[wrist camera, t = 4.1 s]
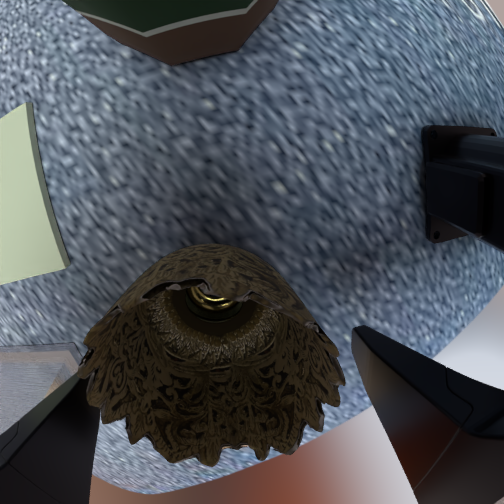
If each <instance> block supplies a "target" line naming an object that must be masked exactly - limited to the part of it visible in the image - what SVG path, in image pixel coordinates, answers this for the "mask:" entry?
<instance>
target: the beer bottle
mask: <svg viewBox="0 0 504 504" xmlns="http://www.w3.org/2000/svg"><path fill="white" fill-rule="evenodd" d="M62 1H63V2H65V3H66V4H68V5H69V6H70V7H72V8H73V9H74V10H76V11H77V12H78V13H80V14H81V15H82V16H83V17H85V18H86V19H87V20H89V21H90V22H91V23H92V24H94V25H95V26H96V27H98V28H99V29H100V30H101V31H103V32H104V33H105V34H107V35H108V36H110V37H112V38H113V39H115V40H116V41H118V42H119V43H121V44H123V45H126V46H128V47H131V48H133V49H135V50H138V51H140V52H142V53H145V54H147V55H149V56H151V57H154V58H156V59H158V60H160V61H162V62H164V63H166V64H169V65H171V66H172V65H176V64H179V63H183V62H187V61H191V60H195V59H199V58H203V57H207V56H212V55H216V54H221V53H226V52H231V51H237V50H239V49H240V47H241V46H242V45H243V44H244V42H245V41H246V40H247V39H248V37H249V36H250V35H251V34H252V33H253V31H254V30H255V29H256V28H257V27H258V26H259V24H260V23H261V22H262V21H263V20H264V19H265V17H266V16H267V15H268V14H269V13H270V12H271V11H272V10H273V9H274V7H275V6H276V4H277V2H278V0H62Z"/></svg>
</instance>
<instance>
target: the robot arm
mask: <svg viewBox="0 0 504 504" xmlns="http://www.w3.org/2000/svg"><path fill="white" fill-rule="evenodd" d="M431 131H432V133H433V137H431ZM423 142H424V153H425V167H426V190H427V228H426V236H427V239H428V240H429V241H431V242H432V243H440V242H444V241H448V240H451V239H455V238H459V237H463V236H466V235H470V236H472V237H474V238H476V239H478V240H480V241H482V242H484V243H485V244H487V245H489V246H491V247H493V248H494V249H496V250H498V251H500V252H502V253H503V254H504V138H503V137H497V134H496V132H495V130H494V129H491V128H479V127H465V126H441V125H428V126H425V127H424V129H423ZM435 232H436V234H435V236H434V233H435ZM351 349H352V354H353V357H354V359H355V362H356V365H357V368H358V370H359V373H360V376H361V379H362V382H363V385H364V387H365V390H366V392H367V394H368V397H369V399H370V401H371V403H372V405H373V407H374V408H375V410H376V413H377V415H378V417H379V419H380V421H381V423H382V425H383V427H384V429H385V431H386V433H387V435H388V437H389V440H390V442H391V444H392V446H393V448H394V450H395V452H396V454H397V457H398V459H399V461H400V463H401V465H402V468H403V470H404V472H405V474H406V476H407V479H408V481H409V483H410V485H411V488H412V490H413V492H414V495H415V497H416V499H417V502H418V504H504V390H501V389H498V388H495V387H493V386H489V385H487V384H484V383H482V382H479V381H476V380H474V379H471V378H469V377H467V376H465V375H463V374H460V373H458V372H456V371H454V370H452V369H450V368H448V367H447V368H446V367H445V366H444V365H442V364H440V363H438V362H436V361H434V360H432V359H430V358H428V357H426V356H424V355H422V354H420V353H418V352H416V351H414V350H413V349H411V348H409V347H407V346H405V345H403V344H401V343H399V342H397V341H395V340H393V339H391V338H389V337H387V336H385V335H383V334H381V333H379V332H377V331H376V330H374V329H372V328H370V327H368V326H366V325H361V326H358V327H354V328H353V329H352V342H351ZM77 372H78V371H77ZM77 372H76V373H75V374H74V375H72V376H71V377H70V378H69V379H68V380H66V381H65V382H64V383H63V384H61V385H60V386H59V387H58V388H57V389H55V390H54V391H53V392H52V393H51V394H49V395H48V396H47V397H46V398H44V399H43V400H42V401H41V402H40V403H38V404H37V405H36V406H35V407H34V408H32V409H31V410H30V411H29V412H28V413H26V414H25V415H24V416H23V417H22V418H20V420H18V421H17V422H16V423H14V424H13V425H12V426H11V427H10V428H8V429H7V430H6V431H5V432H3V433H2V434H1V435H0V504H89V497H90V485H91V477H92V469H93V461H94V454H95V448H96V441H97V435H98V429H99V422H100V410H101V409H99V407H95V406H92V405H91V406H90V405H89V403H88V401H87V392H86V391H87V387H88V383H89V379H90V376H91V375H89V377H87V378H86V379H82V378H79V377H78V376H77Z"/></svg>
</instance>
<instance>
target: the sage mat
mask: <svg viewBox="0 0 504 504" xmlns="http://www.w3.org/2000/svg"><path fill="white" fill-rule="evenodd" d="M69 265H70V261H69V259H68V256H67V253H66V250H65V247H64V244H63V242H62V239H61V236H60V232H59V229H58V226H57V223H56V220H55V216H54V213H53V209H52V206H51V202H50V199H49V195H48V191H47V187H46V183H45V178H44V174H43V169H42V165H41V160H40V155H39V149H38V144H37V137H36V131H35V124H34V116H33V107H32V103H27V102H25V103H24V104H22V105H21V106H19V107H17V108H16V109H14V110H13V111H11V112H10V113H8V114H7V115H5V116H4V117H2V118H1V119H0V285H2V284H6V283H10V282H14V281H18V280H22V279H26V278H30V277H33V276H37V275H42V274H46V273H50V272H54V271H58V270H62V269H66V268H67V267H68V266H69Z"/></svg>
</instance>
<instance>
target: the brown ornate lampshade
mask: <svg viewBox="0 0 504 504" xmlns="http://www.w3.org/2000/svg"><path fill="white" fill-rule="evenodd" d="M201 289H202V290H201ZM207 294H209V295H215V296H219V297H212V296H209V295H207ZM83 344H84V345H86V346H87V347H88V351H87V353H86V355H85V356H84V357H83V359H82V360H81V363H80V364H79V367H78V372H77V376H78V377H79V378H82V379H86V378H87V377H89V375H91V376H90V379H89V383H88V387H87V391H86V392H87V401H88V403H89V405H90V406H91V405H92V406H95V407H99V409H101V420H102V423H103V424H109V423H112V422H114V421H116V420H117V421H118V420H122V419H124V418H125V417H126V428H125V429H126V431H127V434H128V438H129V441H130V444H131V445H133V444H135V443H137V442H138V441H139V440H141V439H142V438H143V437H146V438H148V439H149V440H150V441H151V443H152V444H153V448H154V449H155V450H156V451H157V452H159V453H160V454H161V455H162V456H163V457H164V458H165V459H166V460H167V461H168V462H170V463H179V462H182V461H184V460H187V459H191V458H195V457H196V458H197V460H198V461H200V462H201V464H204V465H207V466H210V467H213V466H215V465H216V464H217V463H218V462H219V459H220V454H221V451H222V450H223V449H222V448H223V447H227V448H230V449H231V448H232V449H235V450H239V449H240V448H242V447H247V446H244V445H248V446H249V447H250V448H251V449H253V450H254V452H255V455H256V457H257V459H258V460H260V461H263V460H265V459H266V458H267V456H268V454H269V451H270V446H271V447H273V448H274V449H273V450H275V451H278V452H280V453H284V454H286V455H291V454H293V453H294V452H295V451H296V450H297V449H298V447H299V445H300V443H301V441H302V437H303V431H304V428H305V426H306V425H307V424H308V425H309V427H310V428H313V429H314V430H315V431H318V432H322V431H323V426H324V417H325V415H324V412H323V410H322V404H321V402H322V403H323V404H325V403H327V404H329V405H331V406H333V407H339V405H340V395H339V392H338V387H339V385H343V386H345V377H344V374H343V371H342V368H341V366H340V364H339V362H338V360H337V357H338V356H339V355H340V354H339V351H338V349H337V347H336V346H335V345H334V343H333V342H332V341H331V340H330V339H329V338H328V336H327V335H326V334H325V333H324V332H323V330H322V329H321V328H320V326H319V325H318V323H317V322H316V321H315V319H314V318H313V316H312V315H311V314H310V312H309V311H308V309H307V308H306V307H305V305H304V304H303V303H302V301H301V300H300V298H299V297H298V296H297V294H296V293H295V292H294V290H293V289H292V288H291V286H290V285H289V284H288V283H287V282H286V280H285V279H284V278H283V277H282V276H281V275H280V274H279V273H278V272H277V271H276V270H275V269H274V268H273V267H272V266H270V265H269V264H268V263H267V262H265V261H264V260H262V259H261V258H259V257H258V256H256V255H254V254H252V253H250V252H248V251H246V250H243V249H240V248H238V247H234V246H230V245H223V244H199V245H193V246H189V247H185V248H182V249H180V250H177V251H175V252H173V253H171V254H169V255H167V256H165V257H163V258H162V259H160V260H159V261H158V262H156V263H155V264H154V265H152V266H151V267H150V268H148V269H147V270H146V271H145V272H144V273H143V274H142V275H141V276H140V277H139V278H138V279H137V280H136V281H135V282H134V283H133V284H132V285H131V286H130V287H129V288H128V289H127V291H126V292H125V293H124V294H123V295H122V296H121V297H120V298H119V299H118V300H117V302H116V303H115V304H114V305H113V306H112V307H111V309H110V310H109V311H108V312H107V313H106V314H105V316H104V317H103V318H102V319H101V320H100V321H99V322H97V323H96V324H95V325H94V326H93V327H92V328H91V329H90V331H89V332H88V334H87V336H86V337H85V339H84V341H83ZM144 435H145V436H144ZM242 445H243V446H242ZM229 446H230V447H229ZM224 449H226V448H224Z"/></svg>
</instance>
